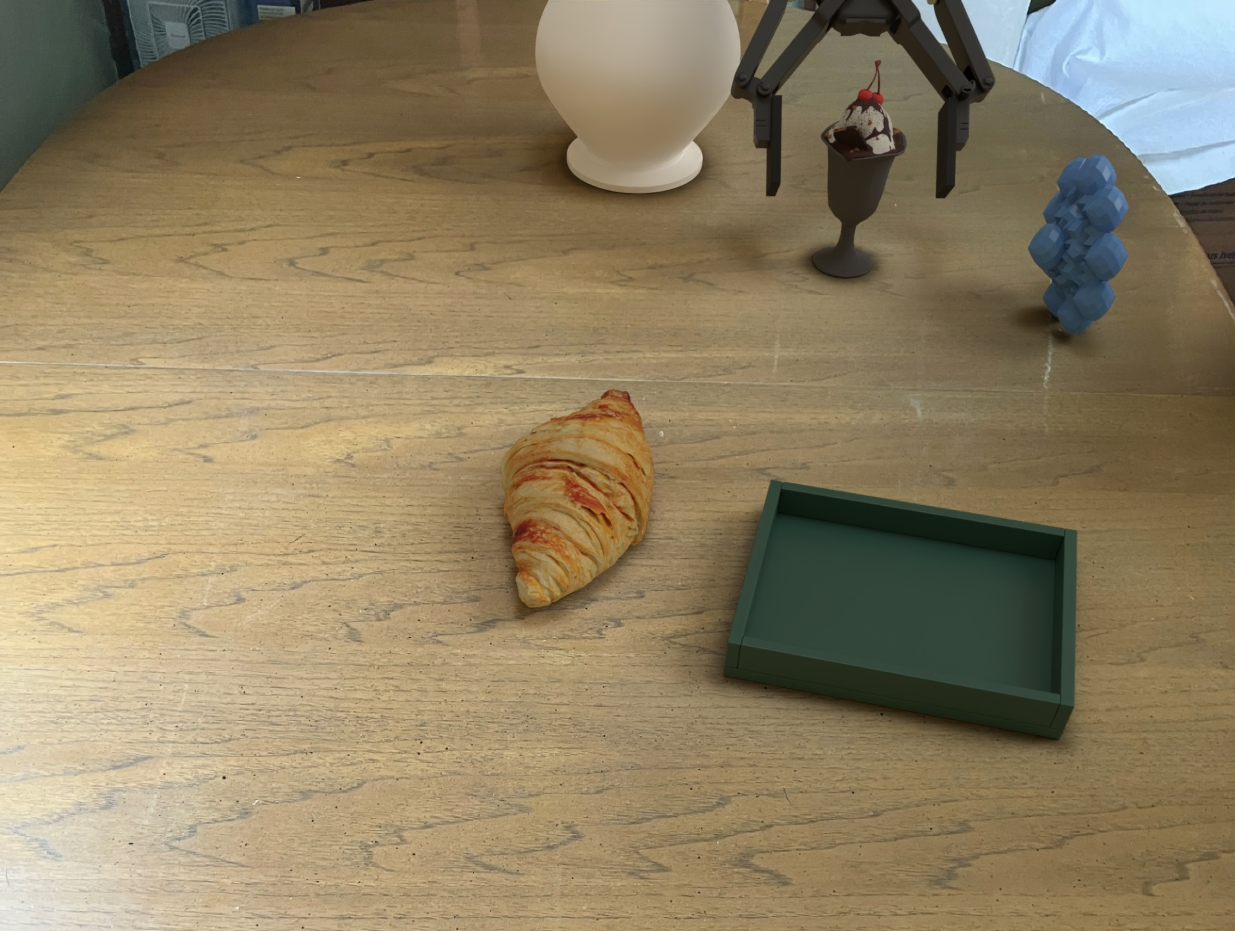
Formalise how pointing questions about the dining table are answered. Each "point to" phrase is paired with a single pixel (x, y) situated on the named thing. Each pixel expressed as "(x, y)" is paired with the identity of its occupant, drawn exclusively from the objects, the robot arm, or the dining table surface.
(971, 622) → the tray
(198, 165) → the dining table surface
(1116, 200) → the grapes
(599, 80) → the decorative vase
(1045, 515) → the dining table surface
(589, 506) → the croissant
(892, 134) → the sundae
